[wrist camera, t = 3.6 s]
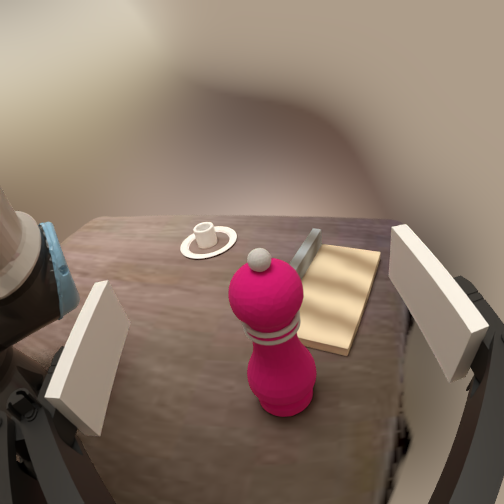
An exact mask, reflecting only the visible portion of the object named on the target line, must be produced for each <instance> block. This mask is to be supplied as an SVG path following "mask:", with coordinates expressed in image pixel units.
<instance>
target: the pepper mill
mask: <svg viewBox="0 0 504 504" xmlns="http://www.w3.org/2000/svg"><path fill="white" fill-rule="evenodd" d="M247 261H248V263H246V264H245V265H243V266H242V267H241V268H240V269H239V270H238V271H237V272H236V273H235V274H234V276H233V278H232V280H231V282H230V286H229V302H230V306H231V308H232V310H233V312H234V314H235V315H236V316H237V318H238V319H239V320H241V321H242V325H243V327H244V332H245V334H246V336H247V337H248V338H249V339H250V340H252V341H253V353H252V356H251V358H250V361H249V363H248V370H247V376H248V382H249V386H250V388H251V390H252V392H253V393H254V394H255V395H256V396H257V397H258V398H259V401H260V404H261V406H262V407H263V408H264V409H265V410H266V411H267V412H269V413H271V414H273V415H276V416H281V417H286V416H293V415H296V414H298V413H300V412H301V411H303V410H304V409H305V408H306V407H307V406H308V405H309V403H310V402H311V399H312V396H313V386H314V384H315V381H316V366H315V362H314V359H313V357H312V355H311V354H310V352H309V350H308V349H307V348H306V347H305V346H304V345H303V344H302V343H301V342H300V340H299V338H298V336H297V331H298V330H299V327H300V324H301V319H300V311H299V309H300V307H301V304H302V302H303V298H304V291H303V285H302V281H301V279H300V277H299V275H298V273H297V272H296V270H295V269H294V268H293V267H292V266H290V265H289V264H288V263H286V262H284V261H282V260H279V259H275V258H271V256H270V254H269V252H268V251H267V250H265V249H263V248H256V249H254V250H252V251H251V252H250V253H249V255H248V259H247Z"/></svg>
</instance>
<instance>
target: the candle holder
mask: <svg viewBox="0 0 504 504" xmlns="http://www.w3.org/2000/svg"><path fill="white" fill-rule="evenodd" d="M193 231H194V233H193V234H192V235H190V236H189V237H187V238H186V239H185V240H184V241H183V243H182V245H181V248H180V250H181V253H182V254H183V255H184V256H186V257H189V258H194V259H201V258H208V257H212V256H215V255H218V254H220V253H222V252H224V251H226V250H227V249H229V248H230V247H231V246H232V245H233V244H234V243H235V241H236V239H237V234H236V232H235V231H234V230H233V229H231V228H229V227H222V226H218V227H214V226H213V224H212V223H211V222H203V223H200V224H198V225H196V226H195V227H194V229H193ZM215 232H223V233H226V234H227V235H228V236H229V238H230V240H229V243H228V244H227V245H226V246H225V247H223V248H222V249H220V250H218V251H215V252H212V253H208V254H194V253H192V252H190V250H189V245H190V243H191V242H192V241H193V240H194V239H195V238H196V241H197V244H198V247H199V248H202V249H207V248H211V247H213V246H215V245H216V244H217V237H216V233H215Z"/></svg>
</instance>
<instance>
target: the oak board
mask: <svg viewBox="0 0 504 504" xmlns="http://www.w3.org/2000/svg"><path fill="white" fill-rule="evenodd" d="M379 261H380V252H376V251H369V250H362V249H354V248H347V247H340V246H332V245H325V244H322V235H321V229H312V231H311V232H310V234H309V235H308V237H307V238H306V240H305V241H304V243H303V244H302V246H301V247H300V249H299V250H298V252H297V253H296V255H295V256H294V258H293V259H292V261H291V262H290V264H289V265H290V266H292V267H293V268H294V269H295V270H296V272H297V273H298V275H299V277H300V279H301V281H302V285H303V291H304V298H303V302H302V304H301V307H300V309H299V311H300V319H301V324H300V327H299V330H298V331H297V336H298V338H299V340H300V342H301V343H302V344H303V345H304V346H306V347H310V348H314V349H318V350H323V351H327V352H331V353H335V354H340V355H344V356H348V353H349V351H350V348H351V345H352V343H353V340H354V337H355V335H356V332H357V329H358V326H359V323H360V321H361V318H362V315H363V312H364V309H365V306H366V303H367V300H368V297H369V294H370V291H371V288H372V284H373V281H374V278H375V275H376V271H377V268H378V265H379Z"/></svg>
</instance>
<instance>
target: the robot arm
mask: <svg viewBox="0 0 504 504" xmlns="http://www.w3.org/2000/svg"><path fill="white" fill-rule="evenodd" d="M389 278H390V279H391V281H392V283H393V284H394V286H395V287H396V289H397V291H398V292H399V294H400V296H401V297H402V299H403V301H404V302H405V304H406V306H407V307H408V309H409V311H410V312H411V314H412V316H413V317H414V319H415V321H416V323H417V324H418V326H419V328H420V330H421V331H422V333H423V335H424V337H425V339H426V340H427V342H428V344H429V346H430V348H431V350H432V351H433V353H434V355H435V357H436V359H437V361H438V363H439V364H440V366H441V368H442V370H443V372H444V374H445V376H446V378H447V380H448V382H449V383H451V382H454V381H457V380H459V379H461V378H464V377H466V375H467V373H468V371H469V369H470V367H471V369H472V371H473V372H474V376H473V378H472V380H471V382H470V383H469V385H468V387H467V389H466V391H468V390H469V389H470V390H469V393H468V397H467V401H466V405H465V408H464V412H463V415H462V418H461V422H460V425H459V428H458V431H457V434H456V437H455V440H454V443H453V446H452V449H451V451H450V454H449V457H448V459H447V462H446V464H445V467H444V469H443V472H442V474H441V476H440V479H439V481H438V483H437V485H436V488H435V490H434V492H433V494H432V496H431V499H430V501H429V503H428V504H495V501H496V498H497V495H498V492H499V489H500V486H501V483H502V480H503V476H504V324H503V323H502V321H501V320H500V318H498V316H497V314H496V313H495V312H494V311H493V309H492V308H491V307H490V305H489V304H488V303H487V302H486V300H484V298H483V296H482V295H481V294H480V293H478V290H477V289H476V288H475V287H474V285H473V284H472V283H471V282H470V281H468V280H467V279H465V278H463V277H462V276H458V277H455V278H452V276H451V275H450V274H449V273H448V272H447V270H446V269H445V268H444V267H443V265H442V264H441V263H440V262H439V261H438V259H437V258H436V257H435V256H434V255H433V254H432V252H431V251H430V250H429V249H428V248H427V247H426V246H425V245H424V243H423V242H422V241H421V240H420V239H419V238H418V237H417V235H416V234H415V233H414V232H413V231H412V230H411V229H410V228H409V227H408V226H407V225H406V224H405V225H400V226H394V227H392V228H391V248H390V263H389ZM79 300H80V298H79V293H78V291H77V288H76V286H75V283H74V281H73V278H72V276H71V273H70V271H69V268H68V266H67V263H66V260H65V257H64V255H63V252H62V249H61V247H60V244H59V241H58V238H57V235H56V232H55V229H54V226H53V224H52V223H51V222H46V223H40V224H39V225H37V223H36V221H35V220H34V219H33V218H32V217H31V216H30V215H28V214H26V213H24V212H20V211H14V210H13V208H12V206H11V204H10V203H9V201H8V199H7V197H6V195H5V194H4V192H3V190H2V188H1V186H0V504H116V503H115V501H114V499H113V498H112V496H111V495H110V493H109V491H108V490H107V488H106V487H105V485H104V483H103V481H102V480H101V478H100V476H99V475H98V473H97V471H96V469H95V467H94V466H93V464H92V462H91V460H90V458H89V456H88V454H87V452H86V451H85V449H84V447H83V445H82V443H81V441H80V439H79V438H78V436H77V435H76V431H77V429H79V430H80V431H81V432H82V433H83V434H84V435H88V436H100V435H101V431H102V426H103V422H104V418H105V414H106V409H107V405H108V401H109V397H110V393H111V389H112V386H113V382H114V378H115V374H116V371H117V367H118V364H119V360H120V357H121V353H122V350H123V346H124V343H125V339H126V336H127V333H128V330H129V326H130V323H131V322H130V320H129V318H128V317H127V315H126V313H125V311H124V309H123V307H122V306H121V304H120V302H119V300H118V298H117V296H116V294H115V293H114V291H113V289H112V287H111V285H110V283H109V281H108V280H107V281H102V282H96V283H95V284H94V286H93V288H92V290H91V292H90V294H89V296H88V298H87V300H86V302H85V304H84V306H83V308H82V310H81V312H80V314H79V316H78V318H77V321H76V323H75V325H74V327H73V329H72V331H71V334H70V336H69V338H68V340H67V343H66V345H65V346H62V347H61V348H60V349H59V350H58V352H57V353H56V354H55V356H54V358H53V360H52V363H51V367H49V370H48V372H46V370H45V369H44V368H43V367H42V366H41V365H40V364H39V363H38V362H37V361H35V360H33V359H32V358H30V357H28V356H27V355H25V354H24V353H22V352H21V351H19V350H17V349H16V348H14V347H13V346H12V345H13V344H15V343H17V342H19V341H20V340H22V339H24V338H26V337H27V336H29V335H31V334H33V333H34V332H36V331H38V330H40V329H41V328H43V327H45V326H47V325H49V324H50V323H52V322H54V321H56V320H60V319H62V318H63V316H64V315H66V314H67V313H69V312H70V311H72V310H74V309H75V308H76V307H77V306H78V304H79ZM16 455H17V456H19V457H20V462H18V461H16Z"/></svg>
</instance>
